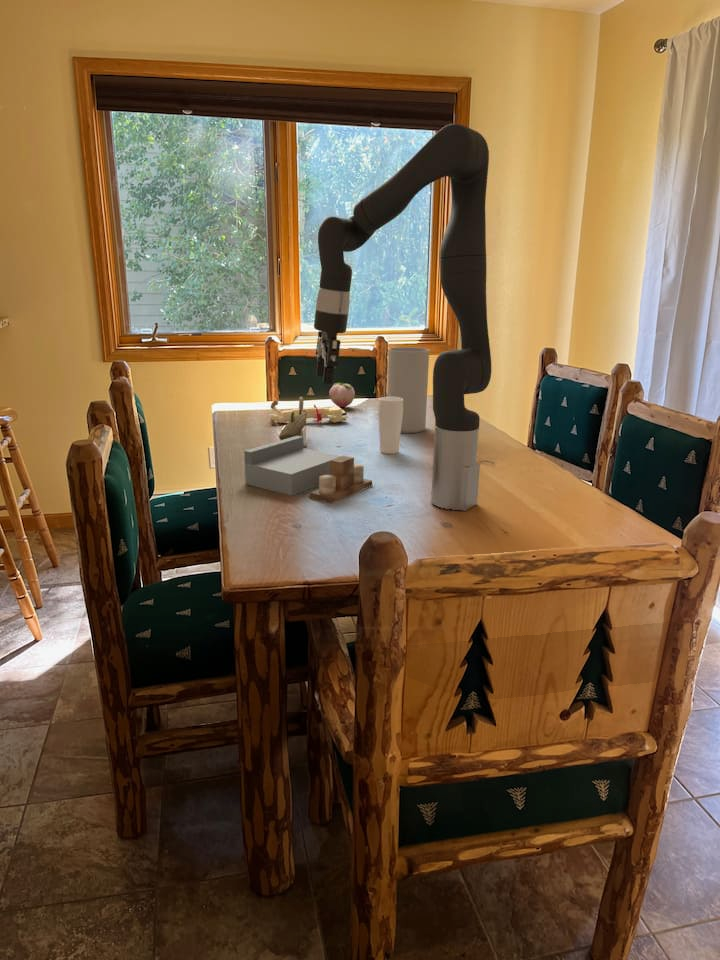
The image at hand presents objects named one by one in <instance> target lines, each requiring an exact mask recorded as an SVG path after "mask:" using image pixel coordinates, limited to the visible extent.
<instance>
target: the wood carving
mask: <svg viewBox="0 0 720 960" xmlns="http://www.w3.org/2000/svg"><path fill="white" fill-rule="evenodd" d="M298 403H299V404H298V409H299V412H298V413H297V414H296V415H295V416H294V412H292V414H291V419H290V420H289V421H287V424H285V425H283V427H282V428H281V431H280V433H279V436H278V438H279V441H280V440H284V439H287V438H291V437H294V436H302V437H303V448H304V449H307V447H308V446H307V428H306V427H307V426H306V425H307V418H306V414H307V413H305V410H303V408H304V397H302V396H300V397H299V400H298Z"/></svg>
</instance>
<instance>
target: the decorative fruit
mask: <svg viewBox="0 0 720 960" xmlns="http://www.w3.org/2000/svg"><path fill="white" fill-rule="evenodd" d="M343 382H344V381H343V380H341V382H335V383H334V382H333V383H332V384H331V385H332V387H331V388H330V389H329V391H328V393H329V394H328V395H329V398H330V400H331V402H332V403H334V405H336V407H344V408H345V407H348V406H349V405H351V404H352V403H353V401H354V398H355V395H356V394H355V391H356V390H355V389H354V387H353V386H352V385H351V384H350V383H343Z"/></svg>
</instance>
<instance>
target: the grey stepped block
mask: <svg viewBox="0 0 720 960" xmlns="http://www.w3.org/2000/svg"><path fill="white" fill-rule="evenodd" d="M341 456H342V455H338V454H333V453H326V452H322V451H318V450H313V449H309V448H308V449H307V448H305V449H304V448H303V437H302V436H294V437H291V438H287V439H284V440H280V439H279V440H277V441H274V442H271V443H267V444H263V445H261V446H257V447H254V448H253V447H252V448H249V449H246V450H244V478H245V479H244V480H245V485H249V486H253V487H256V488H259V489H264V490H267V491H270V492H275V493H279V494H284V495H287V496H291V497H292V496H295V495H298V494H300V493H302V492H305V491H308V490H309V489H313V488H315V487H319V477H320V476H322V475H330V460H332V459H335V458H338V457H341Z"/></svg>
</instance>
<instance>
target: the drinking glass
mask: <svg viewBox="0 0 720 960" xmlns="http://www.w3.org/2000/svg"><path fill="white" fill-rule="evenodd" d="M377 407H378V409H377V410H378V411H377V414H378V431H379V451H380V452H381V453H382V454H384V455H385V454H386V455H394V454H398V453H399V451H400V444H401V443H400V441H401V434H402V433H401V426H402V418H403V398H400V397H387V396H381V397H379V398H378V406H377Z"/></svg>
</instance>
